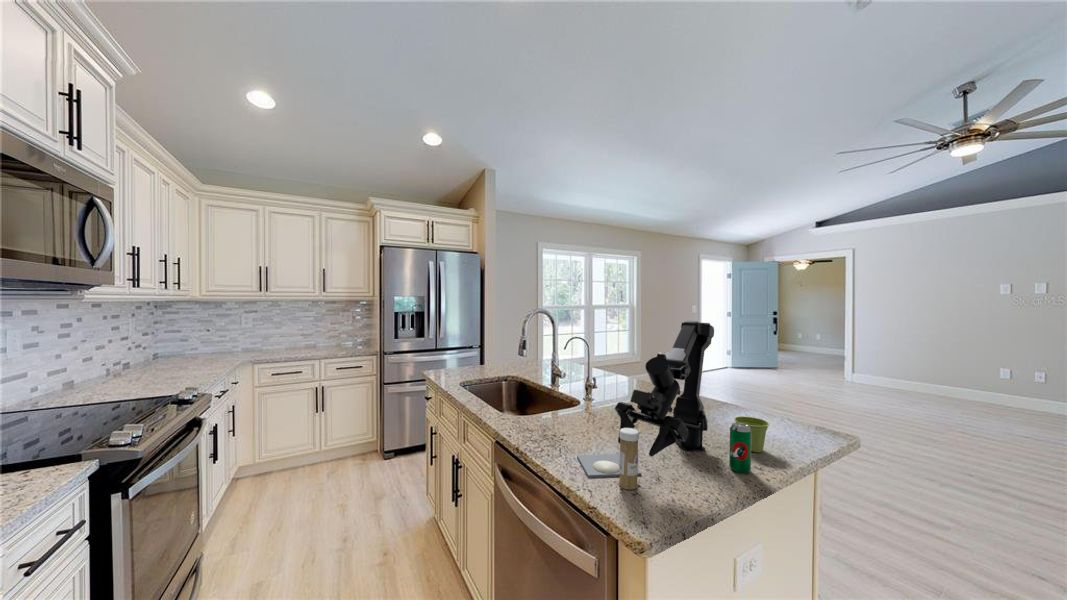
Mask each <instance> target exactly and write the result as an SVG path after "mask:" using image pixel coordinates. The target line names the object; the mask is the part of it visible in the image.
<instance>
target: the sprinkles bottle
mask: <svg viewBox="0 0 1067 600" xmlns="http://www.w3.org/2000/svg"><path fill="white" fill-rule="evenodd" d="M619 431H620V436H619V435H618V438H619V437H620V444H619V454H620V461H619V472H620V476H619V482H618V485H619V486H620V487H621V488H622V489H625V490H628V491H629V490H636V489H637V488H639V487H638V486H639V484H638V476H637V475H638V470H639V439H640V432H639V430H638V429H635V428H634V429H632V428H622V429H620V428H619Z"/></svg>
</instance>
